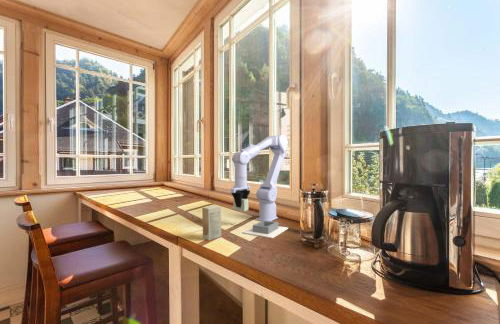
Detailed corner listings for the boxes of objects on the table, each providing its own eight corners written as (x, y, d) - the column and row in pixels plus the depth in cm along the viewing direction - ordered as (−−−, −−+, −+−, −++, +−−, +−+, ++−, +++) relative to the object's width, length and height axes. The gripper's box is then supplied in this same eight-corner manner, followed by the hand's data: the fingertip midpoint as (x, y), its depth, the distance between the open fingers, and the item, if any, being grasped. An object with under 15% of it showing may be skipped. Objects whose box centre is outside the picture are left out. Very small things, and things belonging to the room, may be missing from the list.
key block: (237, 208, 121) (237, 198, 121) (248, 209, 118) (248, 199, 118) (233, 209, 118) (233, 199, 118) (244, 211, 115) (244, 200, 115)
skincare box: (215, 234, 103) (215, 204, 103) (221, 237, 100) (221, 206, 100) (201, 238, 98) (201, 207, 98) (208, 240, 95) (208, 208, 95)
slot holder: (260, 224, 119) (260, 218, 118) (288, 228, 111) (288, 221, 111) (242, 233, 105) (242, 225, 105) (272, 238, 98) (272, 230, 98)
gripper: (241, 176, 126) (241, 203, 126) (224, 178, 113) (224, 208, 114) (253, 176, 123) (254, 204, 123) (238, 178, 110) (238, 209, 110)
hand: (240, 206), depth 118 cm, fingers closed on key block, 4 cm apart
